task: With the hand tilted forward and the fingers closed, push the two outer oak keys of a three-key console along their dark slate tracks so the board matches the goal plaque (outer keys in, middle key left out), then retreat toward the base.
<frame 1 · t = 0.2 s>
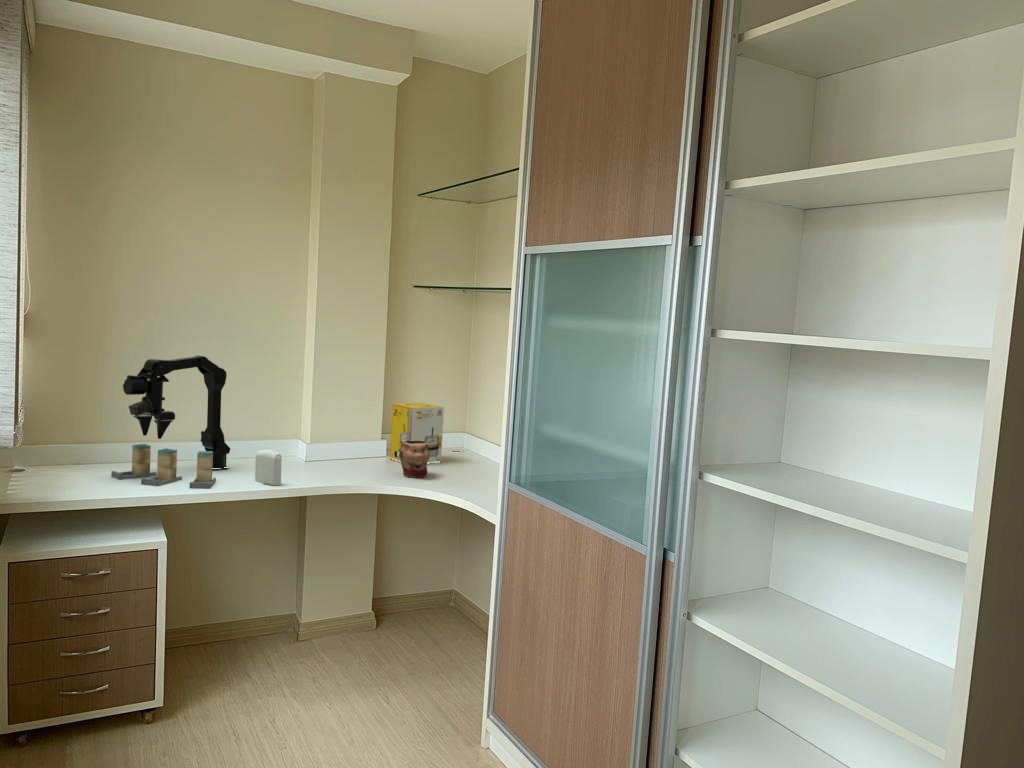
hand: (152, 437, 296), 15 cm above the table, tool pointing down, fingers open, 9 cm apart
oak key B: (167, 465, 291), point 6 cm above the table, slide at 0.0 cm
slate track A: (140, 476, 297), on the table
packaging box: (415, 461, 361), on the table
photo printer: (267, 484, 299), on the table
oak key A: (141, 460, 297), point 6 cm above the table, slide at 0.0 cm
slate track B: (166, 482, 291), on the table
decorative planter: (413, 475, 330), on the table
slate track C: (204, 484, 291), on the table
oak key C: (204, 467, 290), point 6 cm above the table, slide at 0.0 cm
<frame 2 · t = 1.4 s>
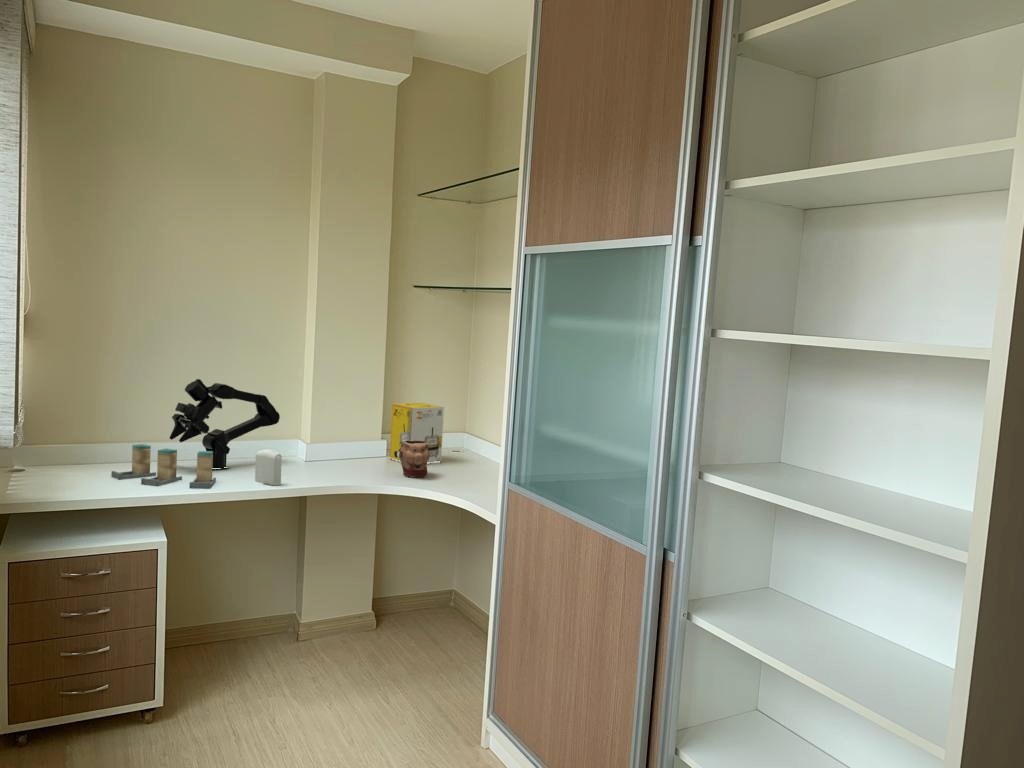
hand: (175, 440, 306), 12 cm above the table, tool tilted 45°, fingers open, 7 cm apart
nothing on the table moved.
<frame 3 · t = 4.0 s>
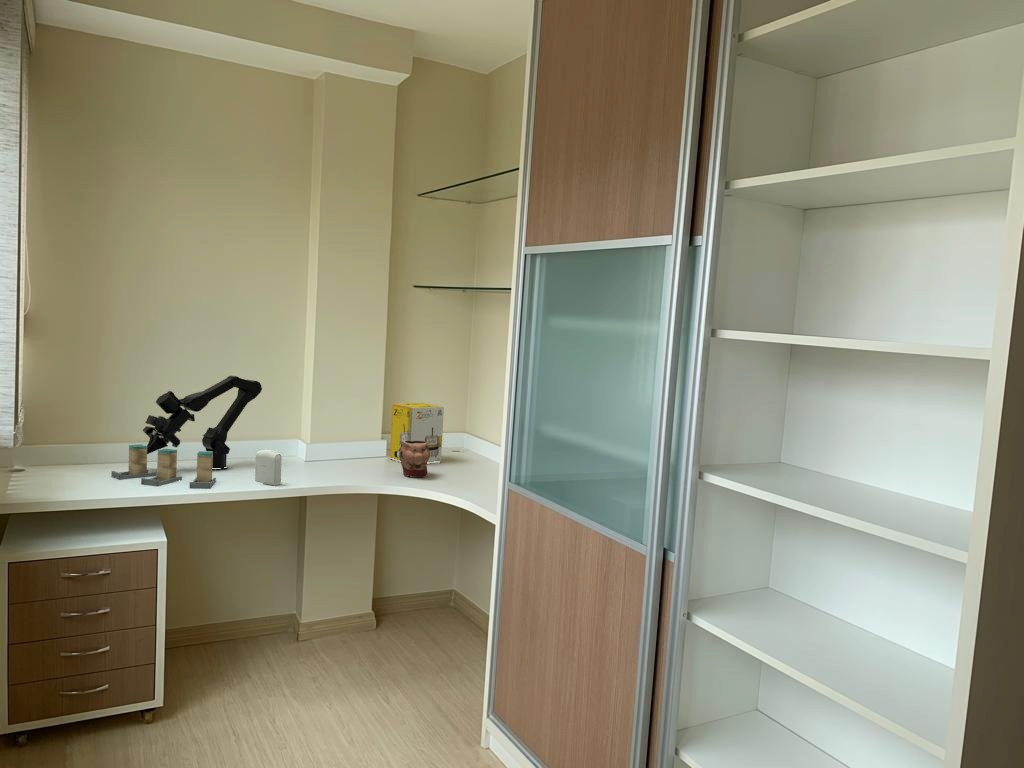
hand: (144, 453, 297), 8 cm above the table, tool tilted 45°, fingers closed, pressing on oak key A
oak key A: (137, 460, 296), point 6 cm above the table, slide at 1.2 cm, touching gripper
everything else where it was.
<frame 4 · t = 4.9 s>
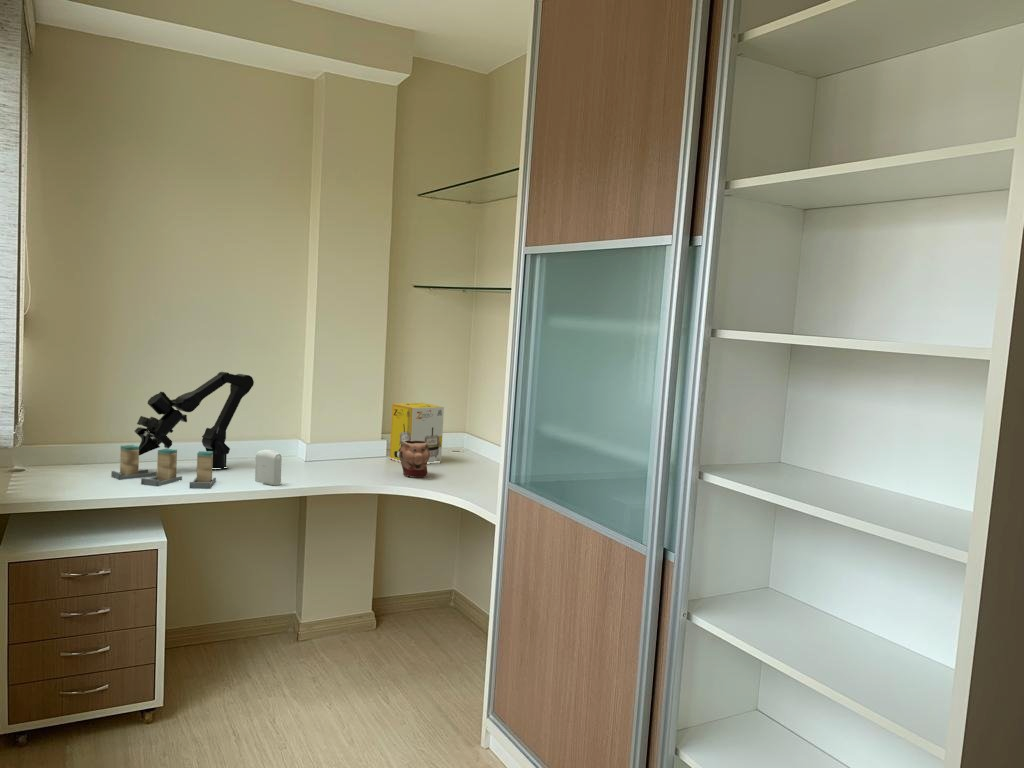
hand: (136, 455, 295), 8 cm above the table, tool tilted 45°, fingers closed, pressing on oak key A
oak key A: (129, 461, 293), point 6 cm above the table, slide at 4.2 cm, touching gripper
everything else where it was.
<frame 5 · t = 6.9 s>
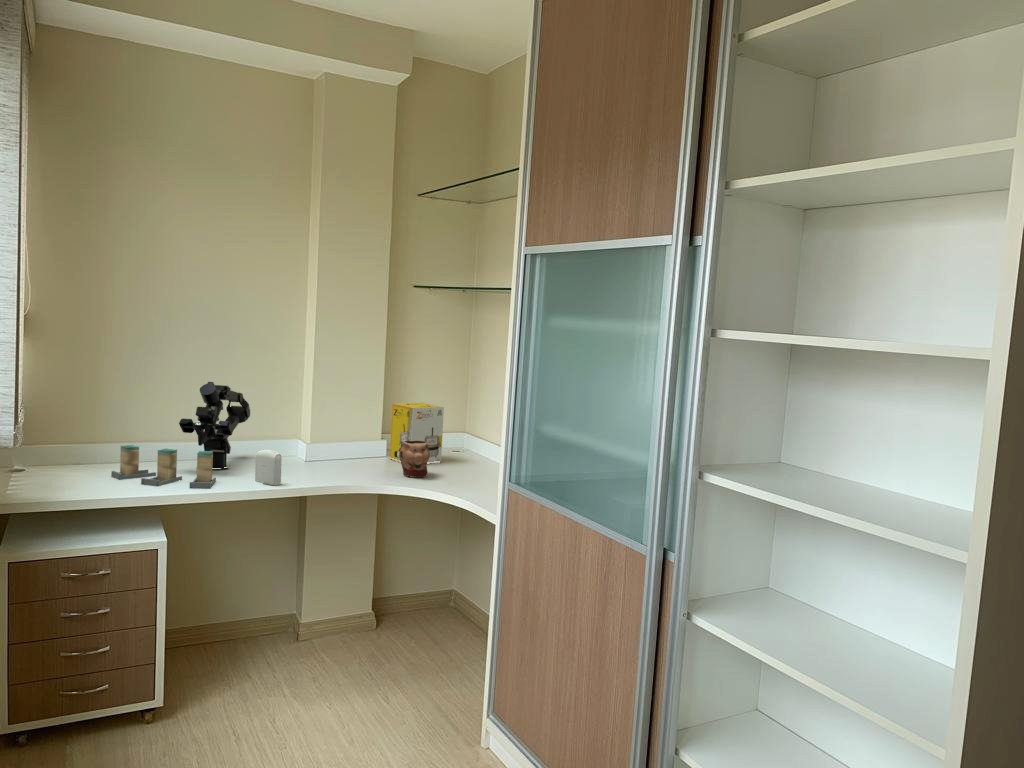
hand: (199, 444, 301), 12 cm above the table, tool tilted 45°, fingers closed
oak key A: (129, 461, 293), point 6 cm above the table, slide at 4.2 cm
everything else where it was.
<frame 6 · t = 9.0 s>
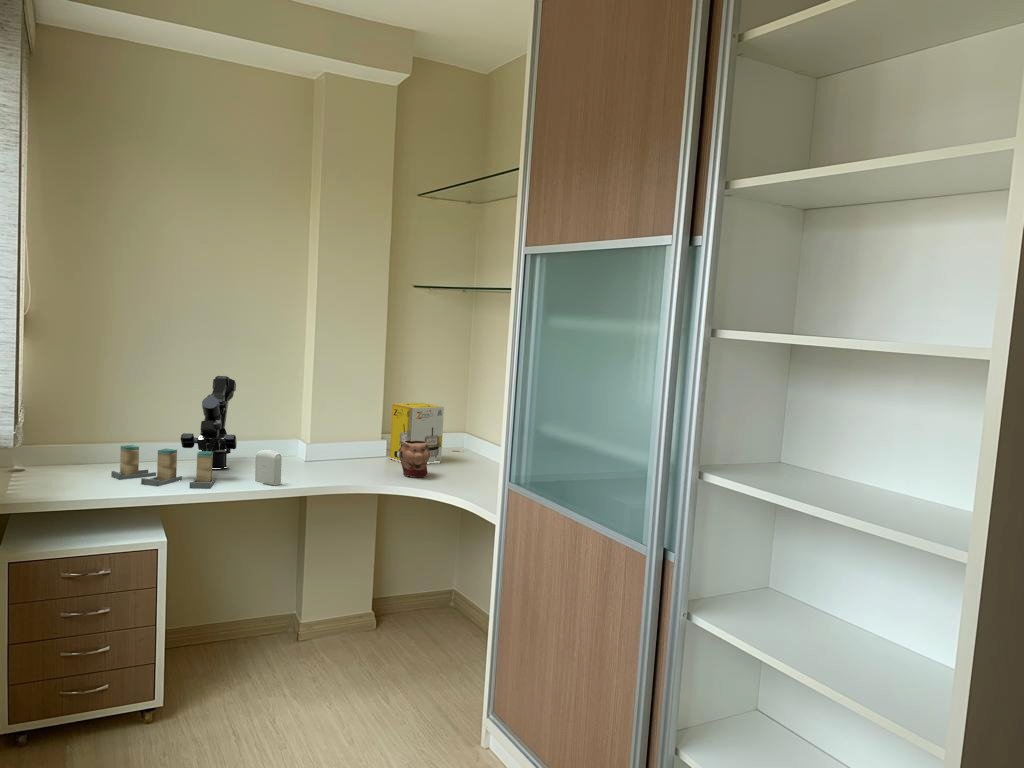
hand: (205, 460, 292), 8 cm above the table, tool tilted 45°, fingers closed, pressing on oak key C
oak key C: (204, 467, 290), point 6 cm above the table, slide at 0.4 cm, touching gripper
everything else where it was.
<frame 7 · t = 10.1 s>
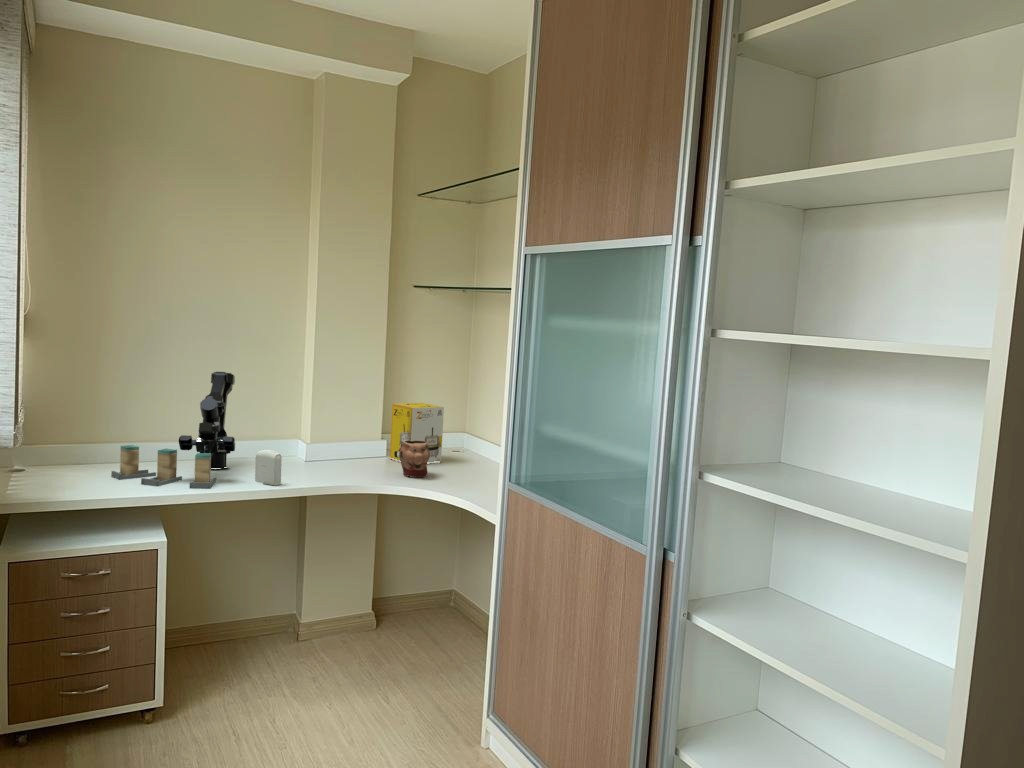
hand: (204, 462, 288), 8 cm above the table, tool tilted 45°, fingers closed, pressing on oak key C
oak key C: (202, 469, 286), point 6 cm above the table, slide at 4.2 cm, touching gripper
everything else where it was.
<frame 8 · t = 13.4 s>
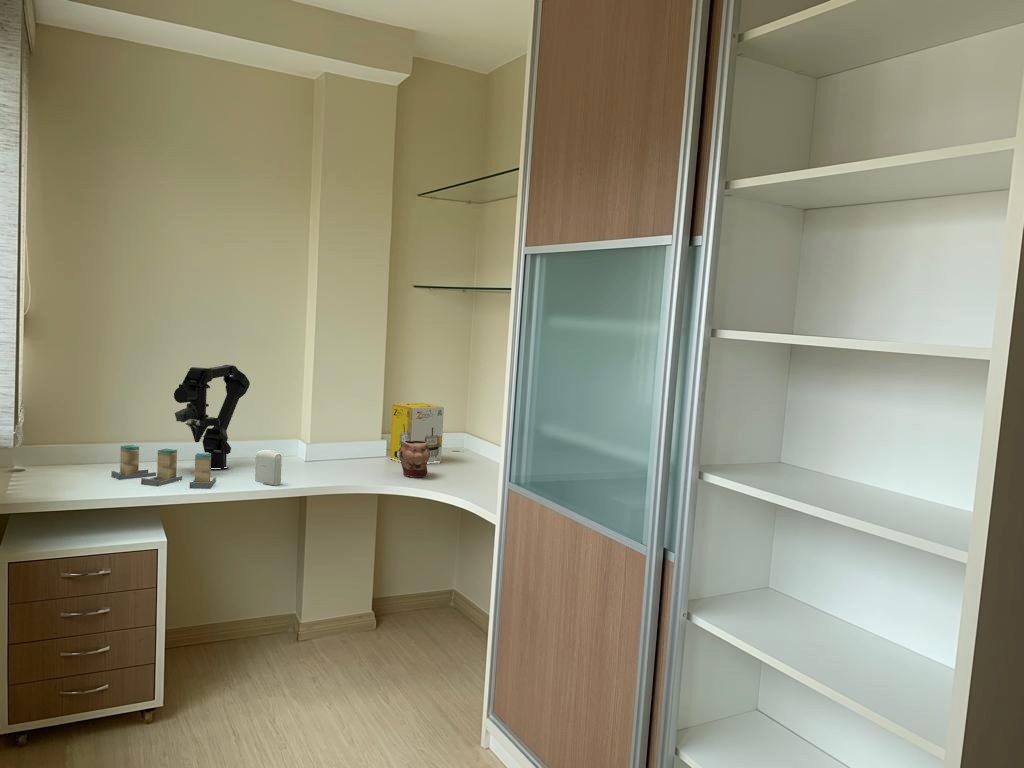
hand: (196, 442, 307), 12 cm above the table, tool pointing down, fingers closed
oak key C: (202, 469, 286), point 6 cm above the table, slide at 4.2 cm
everything else where it was.
at the end: oak key A slide at 4.2 cm; oak key C slide at 4.2 cm; oak key B slide at 0.0 cm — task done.
